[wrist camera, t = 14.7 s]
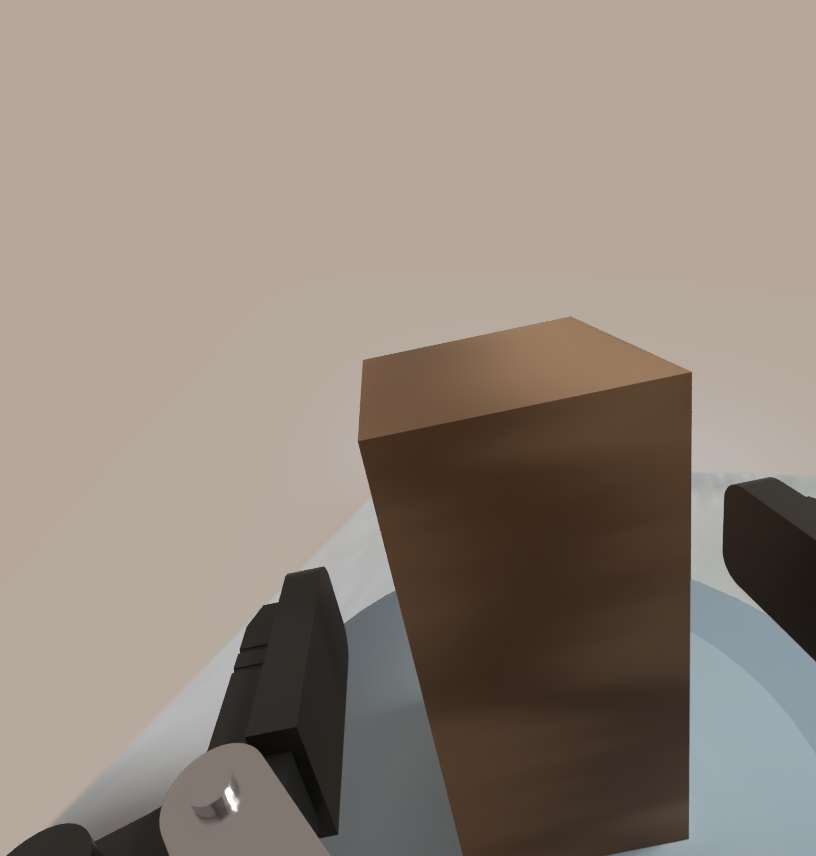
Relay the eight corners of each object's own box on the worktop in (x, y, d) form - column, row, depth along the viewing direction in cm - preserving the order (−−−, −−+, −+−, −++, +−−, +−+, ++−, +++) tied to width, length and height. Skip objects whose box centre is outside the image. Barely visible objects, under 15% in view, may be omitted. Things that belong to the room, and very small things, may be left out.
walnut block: (598, 664, 16) (570, 316, 12) (688, 839, 12) (692, 371, 8) (441, 696, 16) (363, 360, 12) (469, 882, 12) (358, 440, 8)
